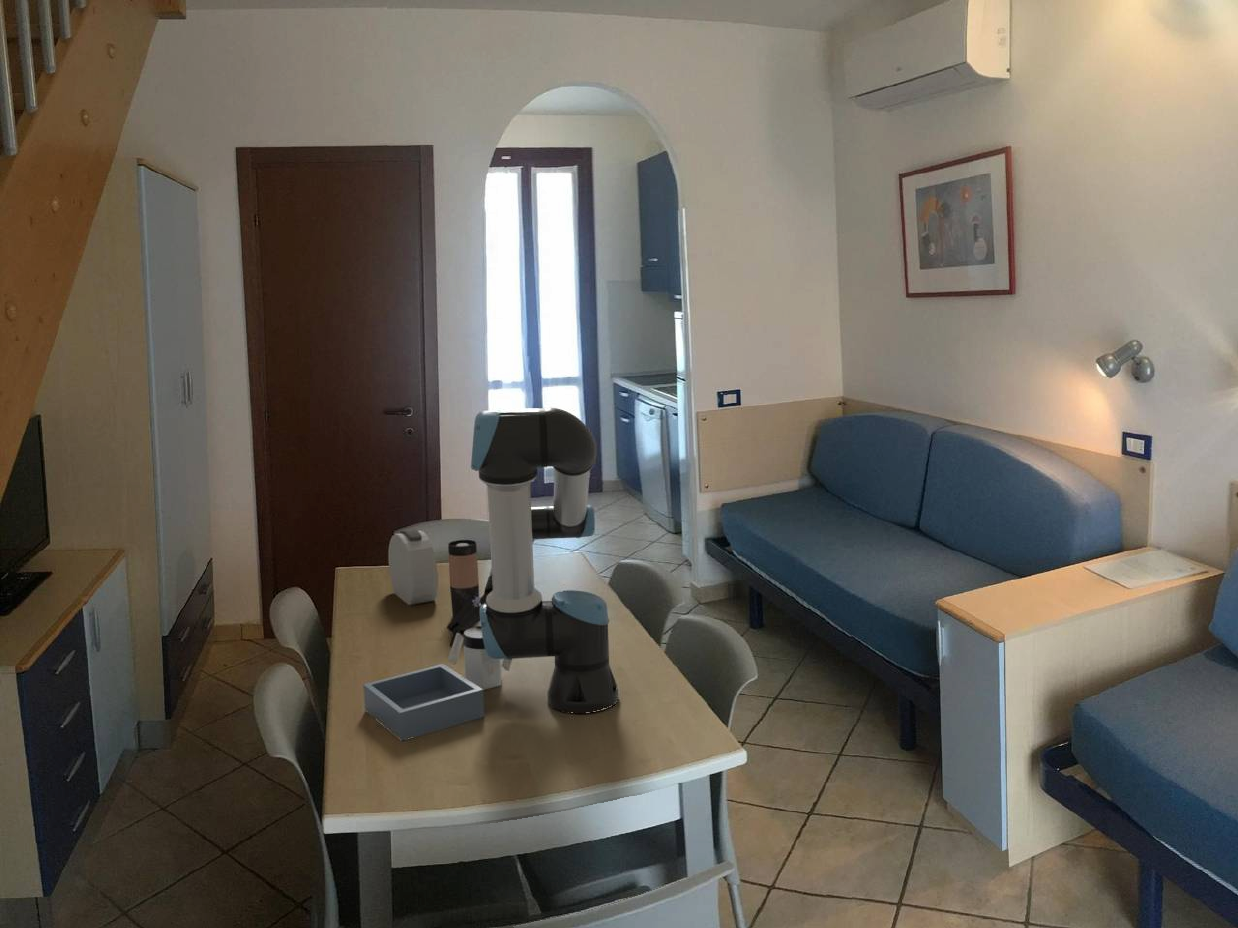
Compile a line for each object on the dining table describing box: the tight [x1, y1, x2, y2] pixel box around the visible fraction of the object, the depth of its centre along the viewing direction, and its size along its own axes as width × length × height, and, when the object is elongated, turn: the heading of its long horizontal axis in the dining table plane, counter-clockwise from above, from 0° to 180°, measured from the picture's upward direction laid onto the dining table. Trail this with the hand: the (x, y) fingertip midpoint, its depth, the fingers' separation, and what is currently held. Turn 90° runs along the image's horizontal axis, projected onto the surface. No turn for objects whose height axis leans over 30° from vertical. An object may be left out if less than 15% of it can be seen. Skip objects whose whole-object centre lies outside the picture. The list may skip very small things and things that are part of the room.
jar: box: [462, 625, 503, 691], centre depth 229 cm, size 9×8×12 cm
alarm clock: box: [387, 528, 439, 606], centre depth 292 cm, size 21×8×20 cm, turn 30°
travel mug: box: [447, 539, 480, 618], centre depth 276 cm, size 8×8×20 cm
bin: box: [363, 663, 485, 740], centre depth 214 cm, size 18×18×6 cm
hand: (478, 665), depth 227 cm, fingers open, 12 cm apart
